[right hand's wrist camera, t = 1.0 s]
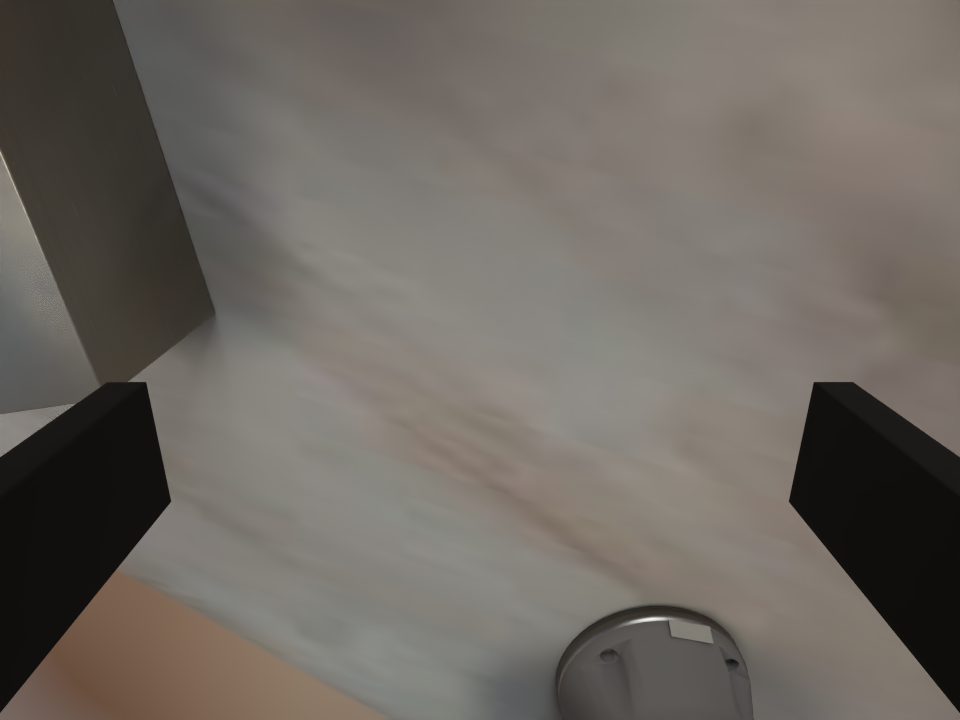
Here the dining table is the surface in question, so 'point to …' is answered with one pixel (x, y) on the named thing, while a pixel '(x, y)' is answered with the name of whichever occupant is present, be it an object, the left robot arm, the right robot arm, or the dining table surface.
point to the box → (83, 212)
